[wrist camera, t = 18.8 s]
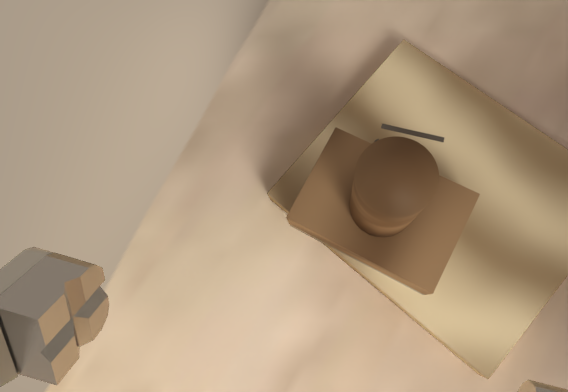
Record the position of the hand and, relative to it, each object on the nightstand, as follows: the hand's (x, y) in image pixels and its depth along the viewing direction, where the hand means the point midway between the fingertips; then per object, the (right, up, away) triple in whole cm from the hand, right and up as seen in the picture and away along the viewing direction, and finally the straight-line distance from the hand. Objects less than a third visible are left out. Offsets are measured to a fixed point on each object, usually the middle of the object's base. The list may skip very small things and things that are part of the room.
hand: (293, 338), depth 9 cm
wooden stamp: (+5, +2, +17) cm, 17 cm away
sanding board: (+9, +3, +18) cm, 20 cm away
